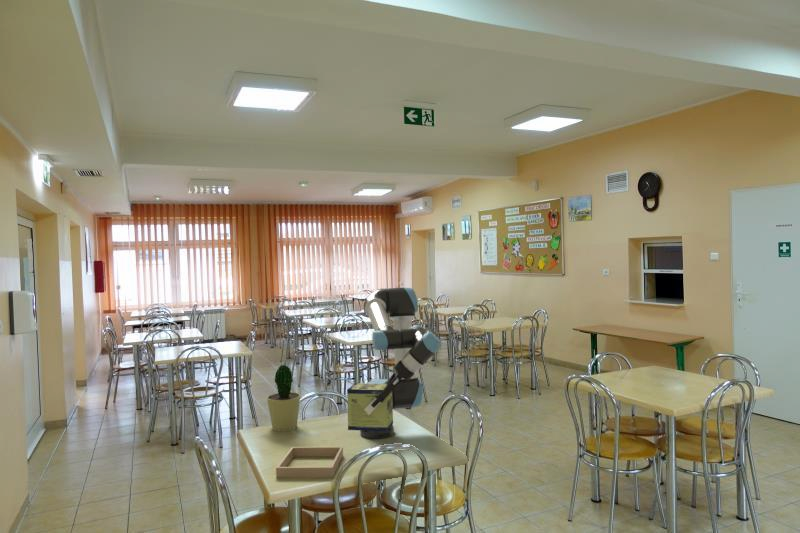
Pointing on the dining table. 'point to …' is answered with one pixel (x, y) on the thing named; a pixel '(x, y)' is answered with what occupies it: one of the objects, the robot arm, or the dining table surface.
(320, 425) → the dining table surface
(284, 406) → the potted cactus
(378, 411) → the protein box
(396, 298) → the robot arm
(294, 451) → the tray
